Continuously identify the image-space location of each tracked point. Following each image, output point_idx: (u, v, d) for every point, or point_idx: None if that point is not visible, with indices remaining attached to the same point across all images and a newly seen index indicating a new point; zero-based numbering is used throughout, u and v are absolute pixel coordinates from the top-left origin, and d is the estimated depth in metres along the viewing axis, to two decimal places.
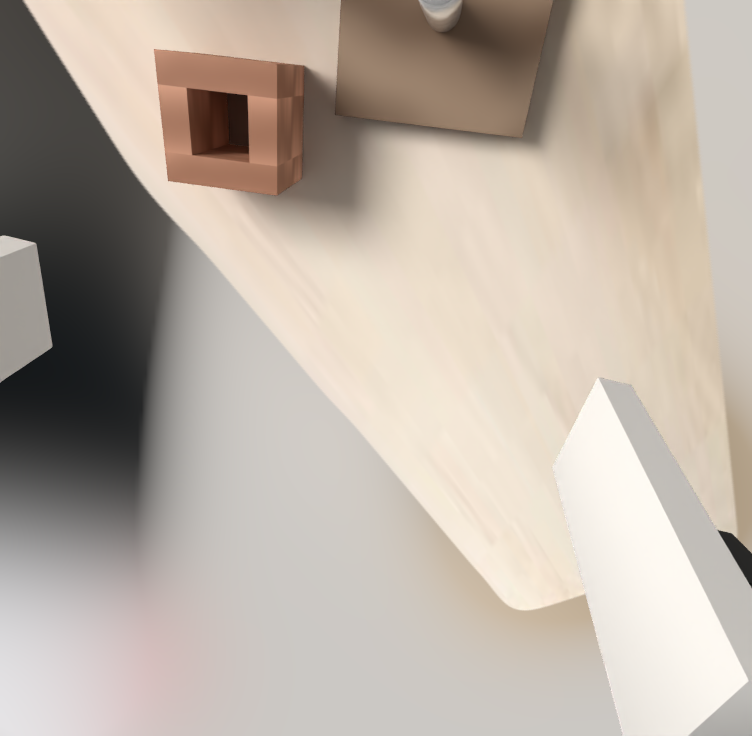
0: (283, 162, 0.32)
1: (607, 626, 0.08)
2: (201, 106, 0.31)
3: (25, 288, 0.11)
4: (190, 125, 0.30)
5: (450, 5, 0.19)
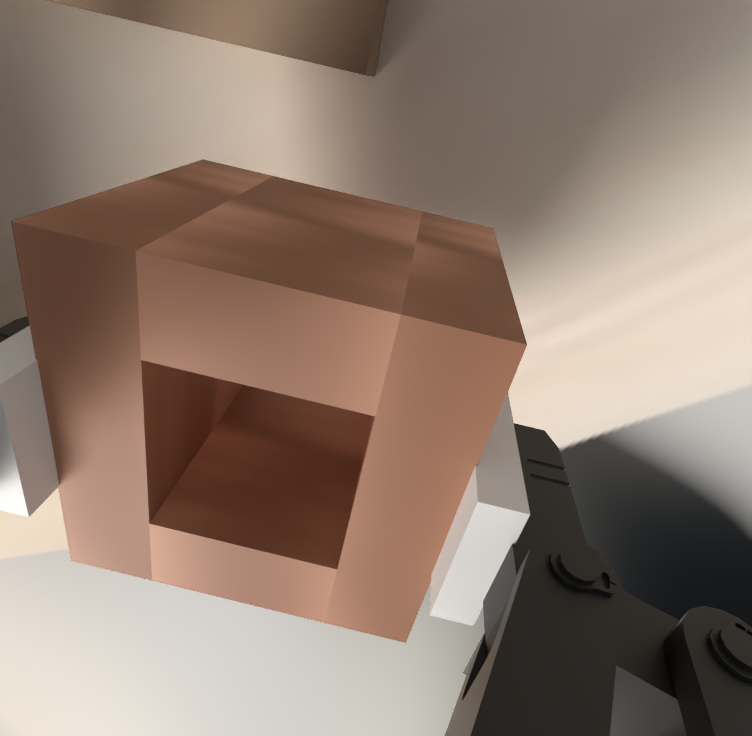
0: (408, 275, 0.08)
1: None
2: (239, 468, 0.11)
3: None
4: (255, 541, 0.09)
5: None
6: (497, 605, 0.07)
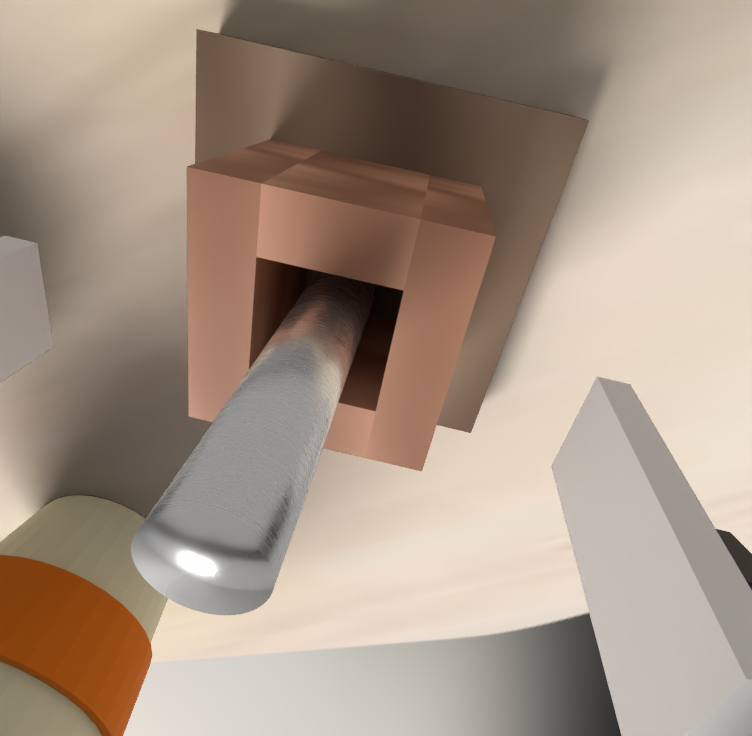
0: (423, 206, 0.12)
1: (606, 625, 0.08)
2: None
3: (26, 288, 0.11)
4: None
5: (291, 487, 0.08)
6: None
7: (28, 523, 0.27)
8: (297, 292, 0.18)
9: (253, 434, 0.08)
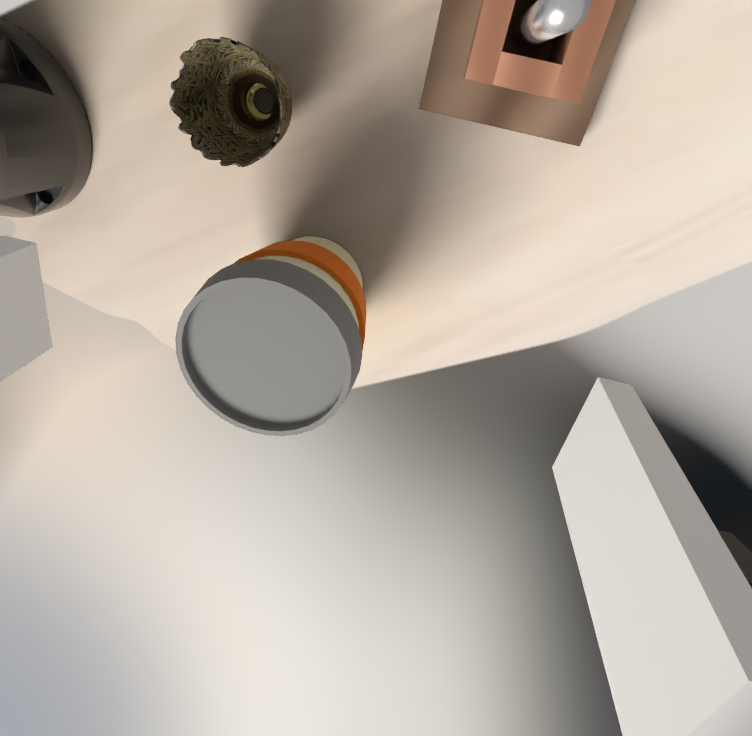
0: None
1: (607, 626, 0.08)
2: None
3: (25, 288, 0.11)
4: None
5: None
6: None
7: None
8: None
9: None
